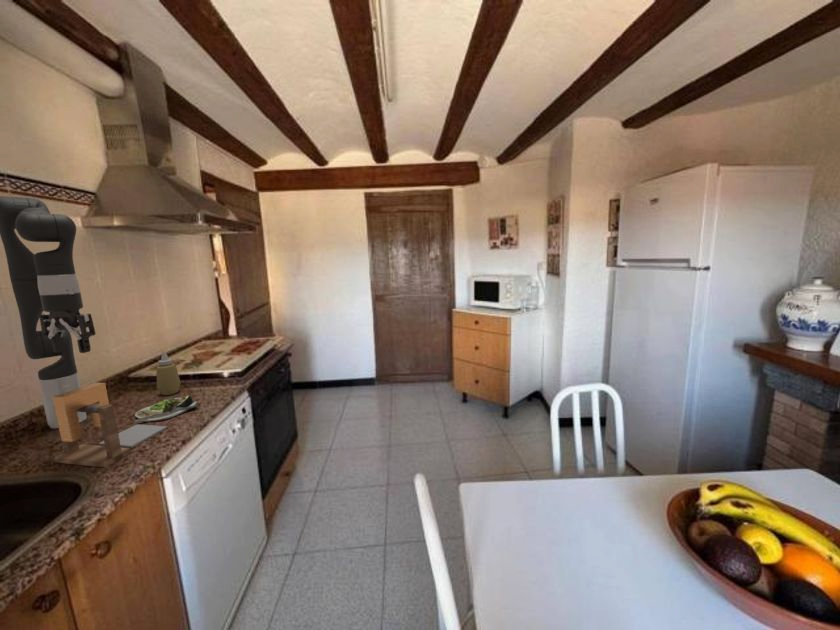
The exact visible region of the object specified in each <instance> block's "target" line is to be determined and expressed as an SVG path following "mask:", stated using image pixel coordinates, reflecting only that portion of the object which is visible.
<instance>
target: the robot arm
mask: <svg viewBox="0 0 840 630" xmlns="http://www.w3.org/2000/svg"><path fill="white" fill-rule="evenodd" d="M16 232H17V233H16ZM17 234H18V235H19V236H20V238H22V239H23V240H25V241H27V242H34V243H43V242H44V243H59V244H58V247H57V248H55V249H52V250H47V251H46V250H45V251H44V250H43V251H40V252H36V253H35V254H34V252H33V251H31V250H30V249H29V248H28V247H27V246H26V245H25V244H24V243H23V241H22V240H21V239H20V238H19V237H18V235H17ZM76 235H77V226H76V223H75V221H74V220H73V219H72V218H70V216H68V215H65V214H60V213H59V214H58V213H53V214H52V213H51V212H50V210H49V208H48V206H47V205H46V203H45V202H44V201H42V200H40V199H37V198H33V197H32V198H31V197H21V196H20V197H19V196H4V195H3V196H2V195H0V239H1V242H2V245H3V248H4V252H5V257H6V263H7V267H8V273H9V278H10V279H9V280H10V283H11V288H12V291H13V295H14V298H15V302H16V305H17V309H18V313H19V317H20V323H21V331H22V339H23V344H24V350H25V352H26V354H27V356H28V358H29V359H31V360H40V359H46V358H54V357H59V356H60V358H59V359H58V360H57V361H55V362H54V363H52V364H50V365H47V366H45V367H43V368H41V369H39V370H38V372H37V377H38V381H39V384H40V389H41V394H42V398H43V399H42V404H43V409H44V414H45V417H46V422H47V426H48V427H49V428H50V429H59V427H58V423H57V418H56V413H55V409H54V403H53V398H52V397H54V396H57V395H60V394H63V393H66V392H69V391H72V390H75V389H78V388H81V387H82V386H81V383H80V378H79V374H78V369H77V365H76V360H75V354H74V345H73V338H72V334H73V336H75V337H76V339H77V340H76V342H77V347H78V351H79V353H80V354H85V353H90V352H91V343H90V338H91V337H93V336H95V335H96V330H95V326H94V321H93V317H92V314H91V313H83V314H82V313H80V310H81V309H82V308H84V304H83V298H82V294H81V289H80V283H79V279H78V278H77V275H76V271H75V270H76V269H75V265H74V257H73V255H74V254H73V252H74V242H75V239H76ZM43 312H46V313H43ZM39 322H40V328H41V330H37V328H38V327H37V326H38V323H39ZM87 328H88V329H87ZM88 330H89V331H88ZM77 413H78V418H79V423H82V422H84V421H85V420H86V419H87V418H88V417H87V412H77Z"/></svg>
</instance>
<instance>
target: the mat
mask: <svg viewBox="0 0 840 630" xmlns="http://www.w3.org/2000/svg"><path fill="white" fill-rule="evenodd" d="M167 429H168V426H164V425H150V424H134V425H132V426H131V427H129V428H127V429H124V430H123V431H120V432H118V435H119V440H120V445H121V448H130V449H131V448H134V447H136V446H138V445H139V444H141V443H143V442H145V441H146V440H149V439H151V438H153V437H154V436H156V435H157V434H159V433H161V432H164V431H165V430H167ZM98 446H105V443H104V440H102V441H101V442H99V443H98Z"/></svg>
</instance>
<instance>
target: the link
mask: <svg viewBox="0 0 840 630" xmlns="http://www.w3.org/2000/svg"><path fill="white" fill-rule="evenodd" d="M106 385H107V384H106V383H105V382H93V383H90V384H87V385H84V386H80V387H81V388H78V389H75V390H72V391H69V392H66V393H63V394H60V395H57V396H54V397H52V398H53V403H54V407H55V412H56V416H57V421H58V425H59V428H58V431H59V430H60V432H59V435H60V434H61V436H60V440H61V439H62V441H68V442H73V441H75V440H79V439H82V438H83V433H82V429H81V424H80V423H81V422H80V423H79V418H78V413H77V409H80V408H83V407H85V406H88V405H98V406H104V405H107V404H109V405H110V403H109V402H110V401H109V397H108V396H109V395H108V391H107V387H106ZM91 416H92V421H93V427H95V428H101V423H100V418H99V413H91ZM62 441H61V442H62Z"/></svg>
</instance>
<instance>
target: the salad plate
mask: <svg viewBox="0 0 840 630" xmlns="http://www.w3.org/2000/svg"><path fill="white" fill-rule="evenodd" d="M198 406H199V404H198V402H197V401H196V400H193V399H192V396H191V395H190V394H188V395H186V396H184V397H174V398H173V397H172V398H171V397H170V398H167V399H164V400H162V401H159V402H157V403H155V404H152V405H151V406H147V407H143V408H142V409H140V410H138V411H136V412H135V414H134V417H136V418H137V419H135V420H134V422H135V423H140V422H156V421H163V420H167V419H168V420H169V419H172V418H174V417H176V416H179V415H182V414H184V413H187V412H189V411H191V410H193V409H194V408H196V407H198Z"/></svg>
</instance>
